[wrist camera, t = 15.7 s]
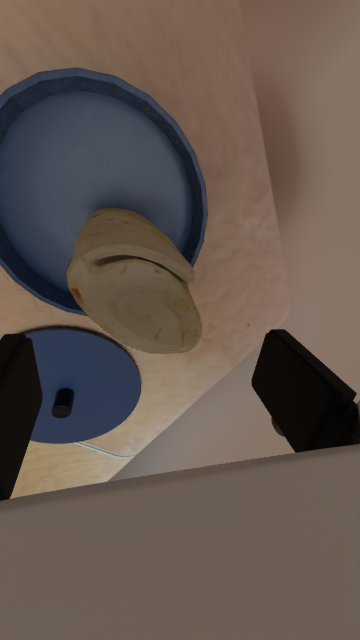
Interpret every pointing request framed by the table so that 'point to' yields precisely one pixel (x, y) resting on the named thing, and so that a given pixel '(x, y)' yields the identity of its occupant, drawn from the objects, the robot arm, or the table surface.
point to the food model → (134, 282)
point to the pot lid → (81, 385)
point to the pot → (88, 173)
